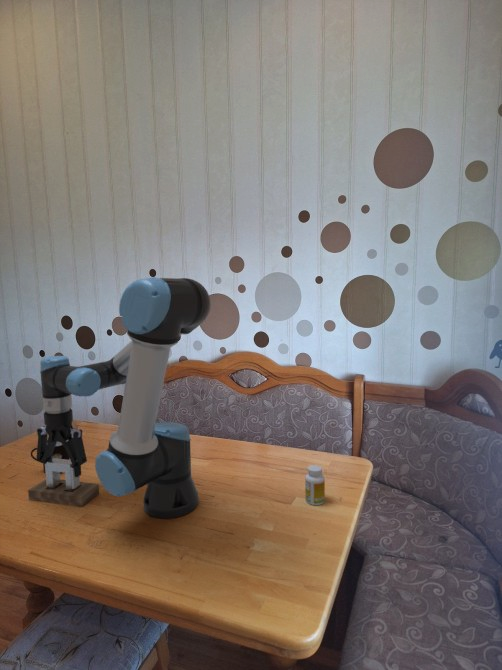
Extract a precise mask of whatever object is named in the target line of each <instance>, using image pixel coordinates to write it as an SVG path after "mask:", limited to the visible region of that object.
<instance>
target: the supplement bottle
mask: <svg viewBox="0 0 502 670" xmlns="http://www.w3.org/2000/svg"><path fill="white" fill-rule="evenodd" d="M304 479H305V480H304V481H305V482H304V485H305V487H304V490H305V491H304V493H305V502H306V503H308V504H309V505H313V506H319V505H320V506H321V505H323V504H324V503H325V498H326V497H325V494H326V493H325V491H326V490H325V487H326V486H325V485H326V483H325V481H326V480H325V476H324V475H323V467H322V466H320V465H316V464H314V465H313V464H311V465H308V467H307V474H306V475H305V478H304Z"/></svg>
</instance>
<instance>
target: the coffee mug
mask: <svg viewBox="0 0 502 670" xmlns="http://www.w3.org/2000/svg"><path fill="white" fill-rule="evenodd" d="M67 441H68V440H67ZM67 441H66V442H67ZM35 451H37V447H35V448H33V449H32V450H31V452H30V457H31V459H33V460H34V461H36V462H38V463H41V464H43V463H42V461H37V459H36V458H37V457H36V456H34V455H33V452H35ZM52 458H57V459H66V460H70V458H69V456H68V453H67V451H66V449H65V447H64V446H63V445H62V443H61V442H57V443H56V446H55V449H54V452H53V455H52ZM52 458H51V459H52ZM63 473H64V472H60V475H61V474H63Z"/></svg>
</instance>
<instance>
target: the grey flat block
mask: <svg viewBox="0 0 502 670" xmlns="http://www.w3.org/2000/svg"><path fill="white" fill-rule="evenodd" d="M60 483H61V486H59V487H58V488H56V489H55V490H51V489H48V486H47V485H46V478H45V479H44V480H42V481H40V482H39V483H38V484H35V485H34V486H32V487H31V488H29V489H28V490H27V495H28V501H33V502H34V501H35V502H41V503H49V504H50V503H51V504H57V505H64V506H71V507H78V508H79V507H80V508H83V507H84V506H85V505H87V504H88V503H89V502H90V501H92V500H93V499H95V498H96V497H97V496H98V495H100V487H99V485H100V484H99V483H94V482H84V481H80V485H79V486H78V489H76V490H75V491H73V492H67V491H66V479H61V478H60Z"/></svg>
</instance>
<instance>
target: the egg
mask: <svg viewBox="0 0 502 670" xmlns="http://www.w3.org/2000/svg"><path fill="white" fill-rule="evenodd" d="M72 427H73V429H75V430H79V428H78V427H79V426H78V424H77V423H76V421H75V420H73V421H72ZM71 435H72V434H71Z"/></svg>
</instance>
